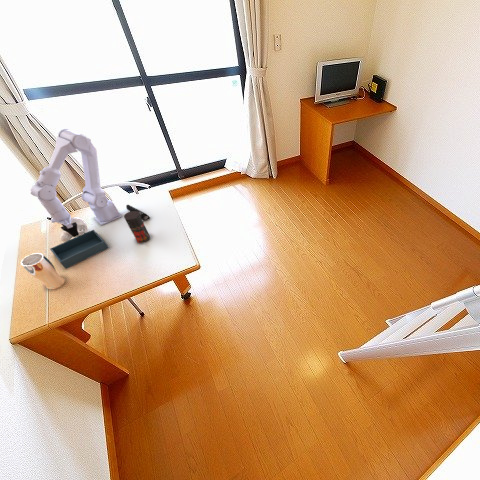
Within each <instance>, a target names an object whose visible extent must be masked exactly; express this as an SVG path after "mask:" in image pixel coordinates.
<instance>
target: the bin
mask: <svg viewBox="0 0 480 480" xmlns="http://www.w3.org/2000/svg"><path fill="white" fill-rule="evenodd" d="M108 249H109V246H108V244H107V242H106V241H105V240H104V239H103V237H101V235H99V233H98V232H97V231H96V230H95V229H91V230H89V231H87V233H82V234H79V235H78V236H76V237H72V238H71V239H70V240H69V241H66V242H61V243H59V244H57V245H55V246H53V247H51V248H49V250H50V251H51V253H52V254H53V256H55V258H56V259H57V261H58V262H59V263H60V264H61V265H62V266H63V268H64V269H65V270H67V269H68V268H71V267H73V266H74V265H77V264H78V263H79V264H80V263H81V262H83V261H85V260H87V259H89V258H91V257H93V256H96V255H97V254H99V253H102V252H103V251H106V250H108Z"/></svg>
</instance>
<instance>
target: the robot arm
mask: <svg viewBox="0 0 480 480" xmlns="http://www.w3.org/2000/svg"><path fill="white" fill-rule="evenodd" d="M57 134H58V135H57V136H56V138H55V147H54V148H53V152H52V154H51V158H50V161H49V164H48V166H45V167H43V168H42V170H40V171H39V172H38V173H39V176H38V178H37V181H35V183H34V184H33V185H32V186H31V188H30V194H31V195H32V196H33V197H36V198H37V200H38V201H39V202H40V203H41V205H42V206H43V207H44V209H45V210H46V212H48V215H50V216H51V218H52V219H50V222H51V223H53V224H54V223H57V224H60V225H61V226H60V229H61V230H62V231H63V232H64V231H66V232H68V233H69V234H71V235H72V236H73V237H72V238H75V237H78V236H80V234H79V233H78V230H77V223H76V222H74V223H72V224H71V218H72V214H71V213H69V211H68V210H67V209H66V207H65V206H64V204H63V203H62V202H61V200H60V199H59V197H57V196H58V193H57V190H56V189H57V185H58V183H59V181H60V179H61V176H62V173H61V171H60V170H61V168H62V166H63V165H64V163H65V161H66V159H67V158H68V156H69V154H73V153H78V152H80V154H81V161H82V168H83V170H82V171H83V176H84V184H85V186H84V187H82V193H81V200H83V201H84V202H85V203H87V204H88V207H89V208H90V210H91V211H92V213H93V215H94V216H95V217H94V219H95V220H96V222H98V223H99V224H100V226H103V225H106V224H108V223H110V222H113V221H115V220H117V219H119V218H121V217H122V215H121V214H120V212H119V210H118V208H117V206H116V205H115V203H114V202H113V201H112V200H111V199H108V198H107V195H106V192H105V190H104V189H103V188H102V187H101V178H100V171H99V161H98V152H97V148H96V147H95V146H94V144H93V143H92V140H91V139H90V138H89V137H88V136H86V135H84V134H82V133H79V132H76V131H74V130H71V129H69V128H63V129H60V130H59V132H58V133H57Z"/></svg>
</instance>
